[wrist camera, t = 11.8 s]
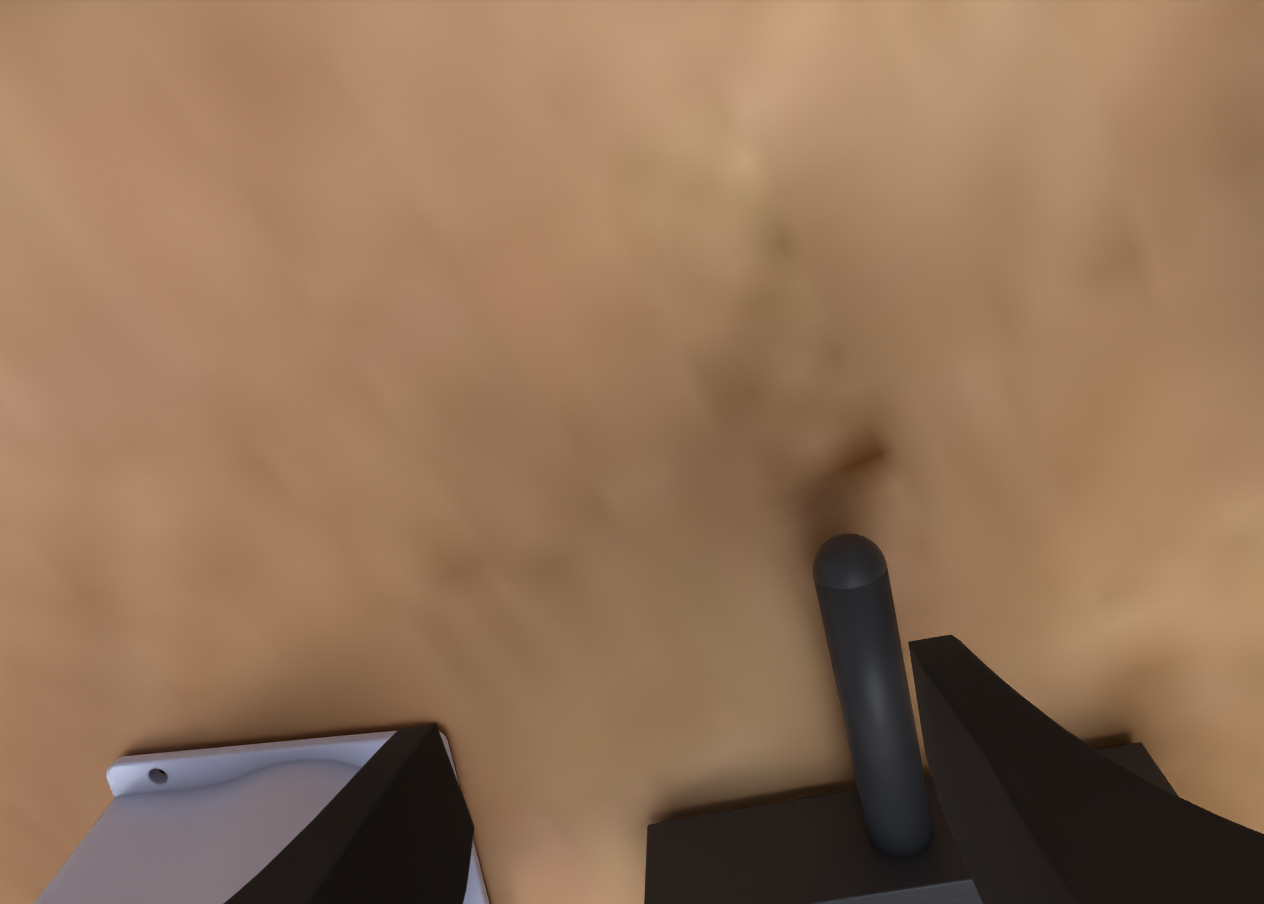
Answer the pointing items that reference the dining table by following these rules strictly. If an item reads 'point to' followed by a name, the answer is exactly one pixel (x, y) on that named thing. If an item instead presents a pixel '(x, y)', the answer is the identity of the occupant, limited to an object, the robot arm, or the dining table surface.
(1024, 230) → the dining table surface
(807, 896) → the scoop pan
